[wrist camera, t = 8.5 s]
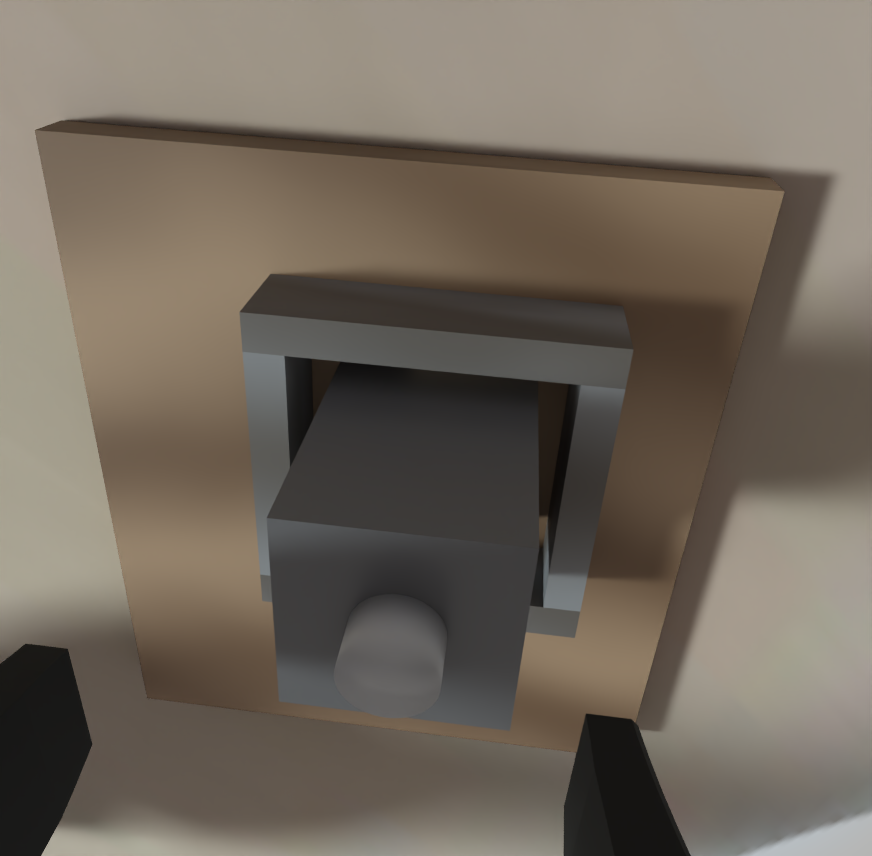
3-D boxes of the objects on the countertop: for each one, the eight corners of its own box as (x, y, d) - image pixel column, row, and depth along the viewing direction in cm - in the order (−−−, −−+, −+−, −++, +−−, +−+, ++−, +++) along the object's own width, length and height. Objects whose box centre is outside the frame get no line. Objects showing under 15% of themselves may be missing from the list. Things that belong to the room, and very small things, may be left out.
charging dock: (621, 729, 23) (632, 824, 21) (160, 671, 24) (116, 756, 22) (770, 177, 15) (818, 224, 13) (61, 120, 16) (-29, 153, 13)
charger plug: (517, 516, 19) (508, 782, 13) (348, 497, 19) (262, 750, 13) (537, 363, 17) (539, 597, 11) (348, 344, 17) (244, 562, 11)
